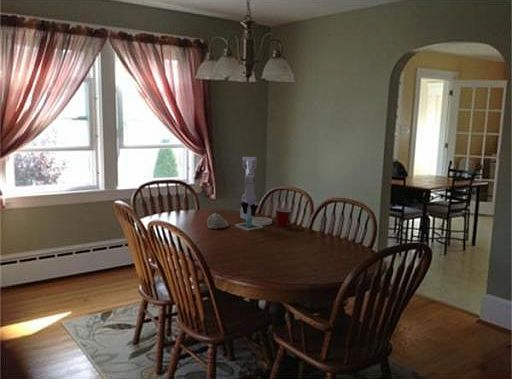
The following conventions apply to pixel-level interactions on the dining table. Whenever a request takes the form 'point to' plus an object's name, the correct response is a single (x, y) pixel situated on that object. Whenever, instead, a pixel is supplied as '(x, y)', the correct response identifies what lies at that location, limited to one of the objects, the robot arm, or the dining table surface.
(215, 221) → the seashell
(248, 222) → the cylinder
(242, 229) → the tray
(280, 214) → the plastic cup
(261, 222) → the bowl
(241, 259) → the dining table surface
